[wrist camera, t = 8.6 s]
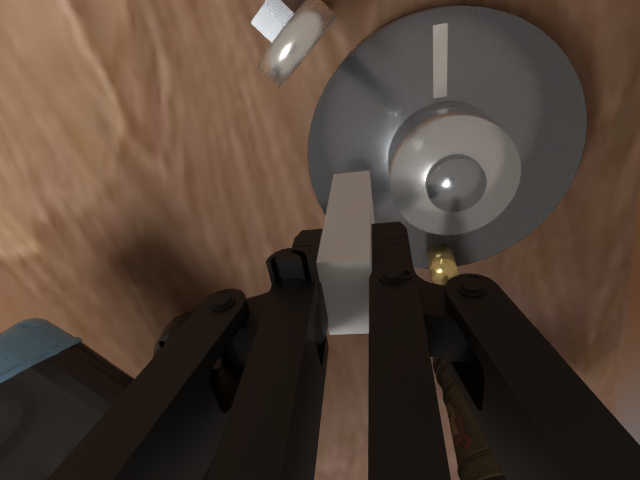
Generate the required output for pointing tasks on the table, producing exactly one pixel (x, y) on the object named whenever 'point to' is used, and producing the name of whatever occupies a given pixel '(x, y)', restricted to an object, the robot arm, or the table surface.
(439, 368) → the container
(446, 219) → the cover
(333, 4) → the table surface
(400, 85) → the turntable
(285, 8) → the dial stand
